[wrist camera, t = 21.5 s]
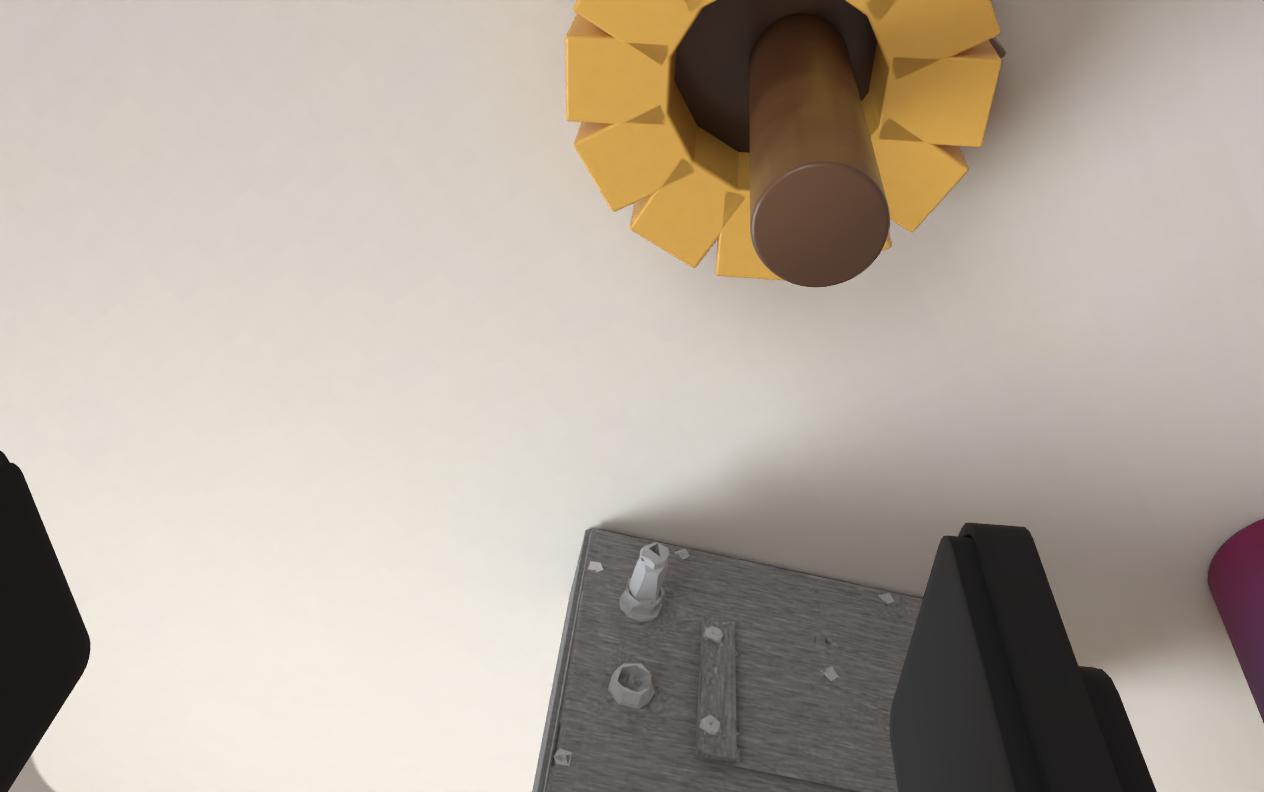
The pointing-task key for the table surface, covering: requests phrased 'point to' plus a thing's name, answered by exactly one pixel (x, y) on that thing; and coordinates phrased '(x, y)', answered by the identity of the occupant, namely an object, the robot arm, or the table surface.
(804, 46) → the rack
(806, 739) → the electronic device
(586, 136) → the yellow segmented ring
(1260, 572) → the cup
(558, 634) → the table surface
